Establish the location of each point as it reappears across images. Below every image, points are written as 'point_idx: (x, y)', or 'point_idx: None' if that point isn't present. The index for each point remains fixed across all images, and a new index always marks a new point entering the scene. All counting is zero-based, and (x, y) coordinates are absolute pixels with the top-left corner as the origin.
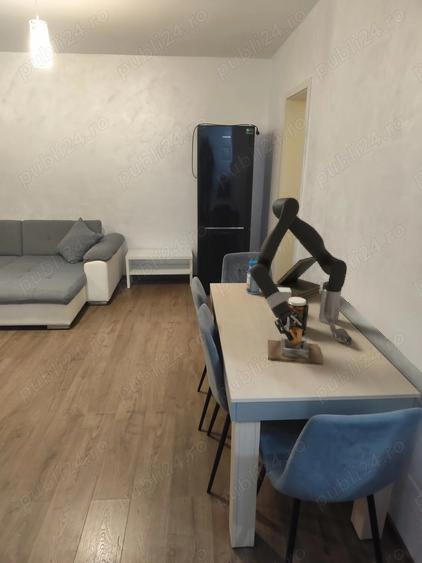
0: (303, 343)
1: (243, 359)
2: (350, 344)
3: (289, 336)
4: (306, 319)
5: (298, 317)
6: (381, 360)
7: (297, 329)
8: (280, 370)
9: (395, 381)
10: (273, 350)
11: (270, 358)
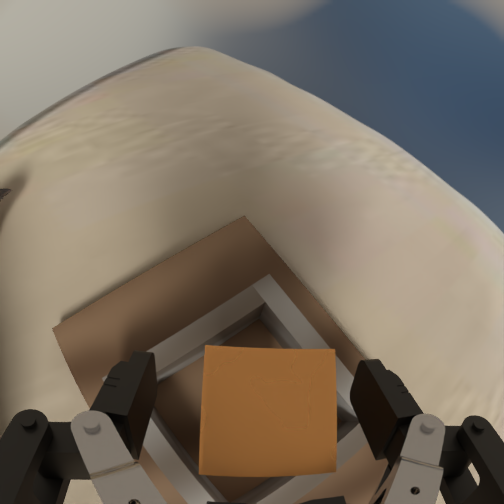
0: None
1: None
2: (7, 191)
3: (406, 391)
4: None
5: (15, 494)
6: (65, 114)
7: (259, 396)
8: (448, 337)
9: (174, 67)
10: (352, 494)
11: None
